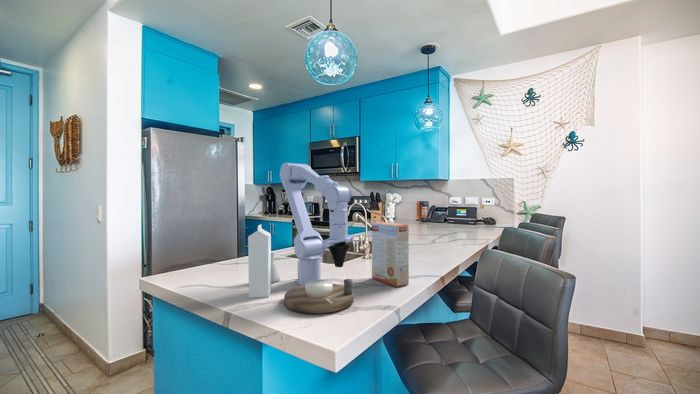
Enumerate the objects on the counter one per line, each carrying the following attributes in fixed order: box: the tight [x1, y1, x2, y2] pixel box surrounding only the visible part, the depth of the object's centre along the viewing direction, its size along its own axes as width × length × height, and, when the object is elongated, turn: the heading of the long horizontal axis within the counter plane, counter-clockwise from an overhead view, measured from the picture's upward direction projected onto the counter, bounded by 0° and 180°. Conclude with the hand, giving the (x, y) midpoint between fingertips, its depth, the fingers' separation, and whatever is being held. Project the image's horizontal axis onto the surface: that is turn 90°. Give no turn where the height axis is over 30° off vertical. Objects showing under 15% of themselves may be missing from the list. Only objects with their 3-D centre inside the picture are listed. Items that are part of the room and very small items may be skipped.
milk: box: [247, 223, 272, 299], centre depth 100 cm, size 6×6×22 cm
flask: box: [271, 252, 281, 284], centre depth 115 cm, size 7×7×10 cm
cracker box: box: [371, 221, 410, 288], centre depth 113 cm, size 14×6×21 cm, turn 33°
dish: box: [305, 279, 334, 298], centre depth 93 cm, size 8×8×3 cm
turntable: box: [283, 278, 354, 314], centre depth 93 cm, size 20×20×6 cm
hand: (338, 266), depth 101 cm, fingers closed
